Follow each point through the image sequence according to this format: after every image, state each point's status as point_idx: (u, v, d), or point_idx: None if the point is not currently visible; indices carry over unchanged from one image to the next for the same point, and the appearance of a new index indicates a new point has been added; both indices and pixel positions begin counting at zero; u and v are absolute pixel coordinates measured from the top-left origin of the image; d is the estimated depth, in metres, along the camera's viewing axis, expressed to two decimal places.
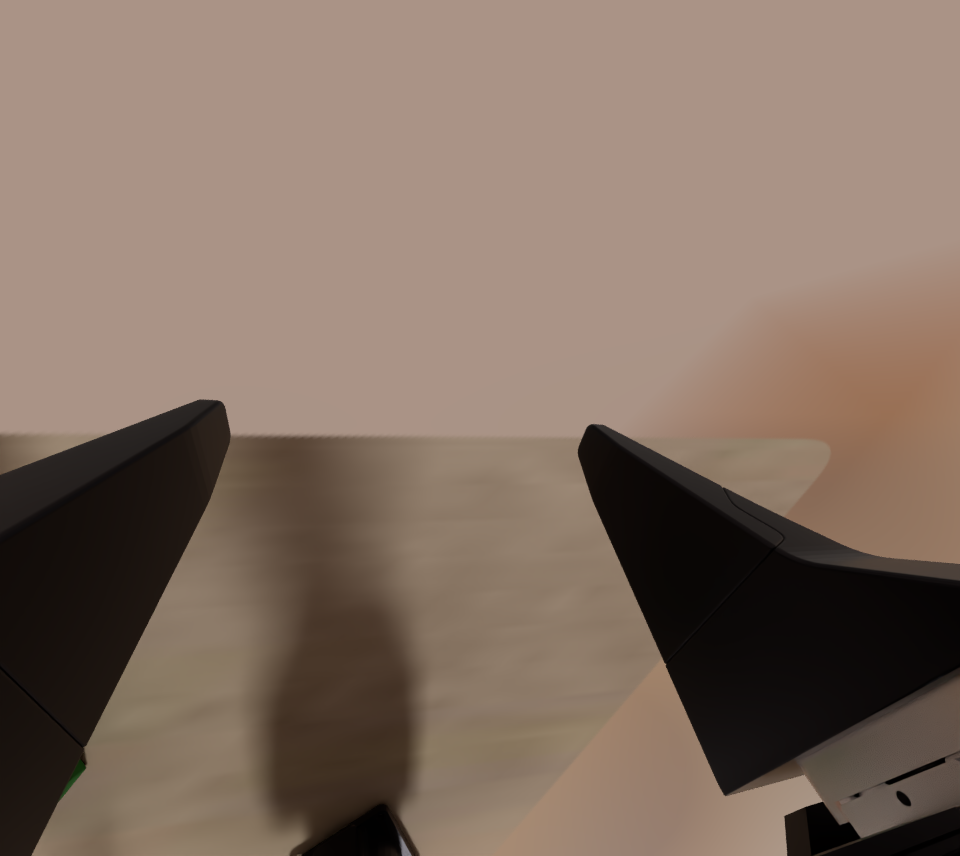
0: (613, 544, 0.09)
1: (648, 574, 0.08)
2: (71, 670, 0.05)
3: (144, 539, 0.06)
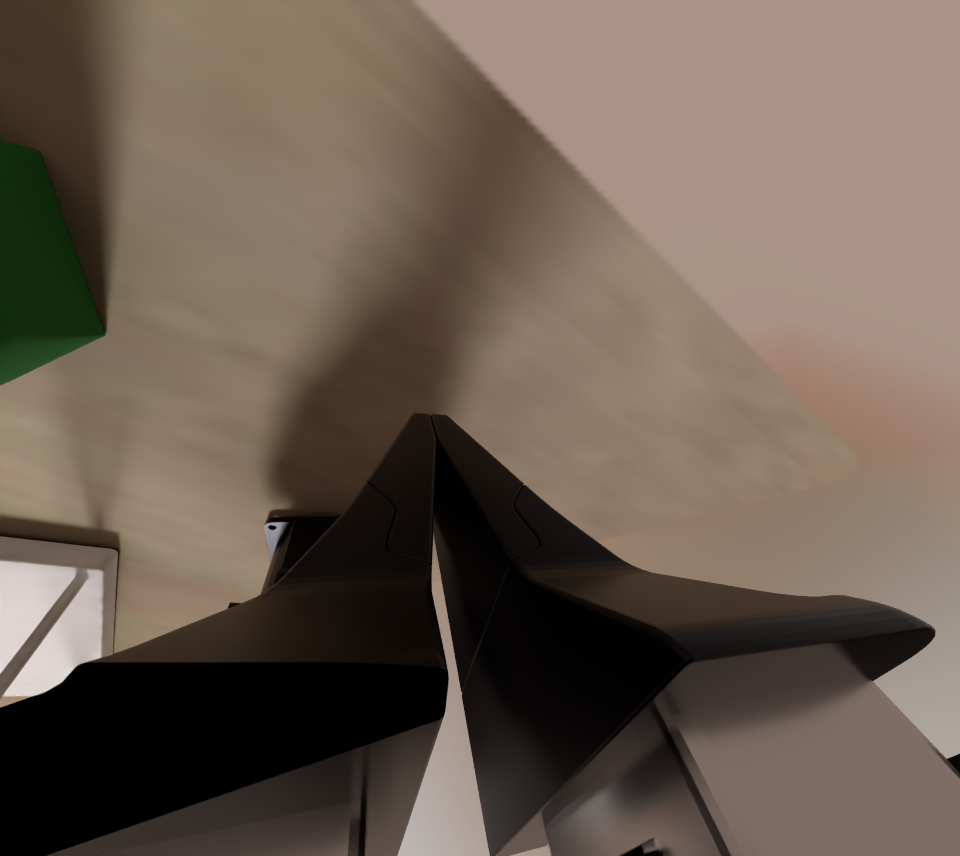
0: (437, 550, 0.08)
1: (452, 587, 0.07)
2: None
3: None
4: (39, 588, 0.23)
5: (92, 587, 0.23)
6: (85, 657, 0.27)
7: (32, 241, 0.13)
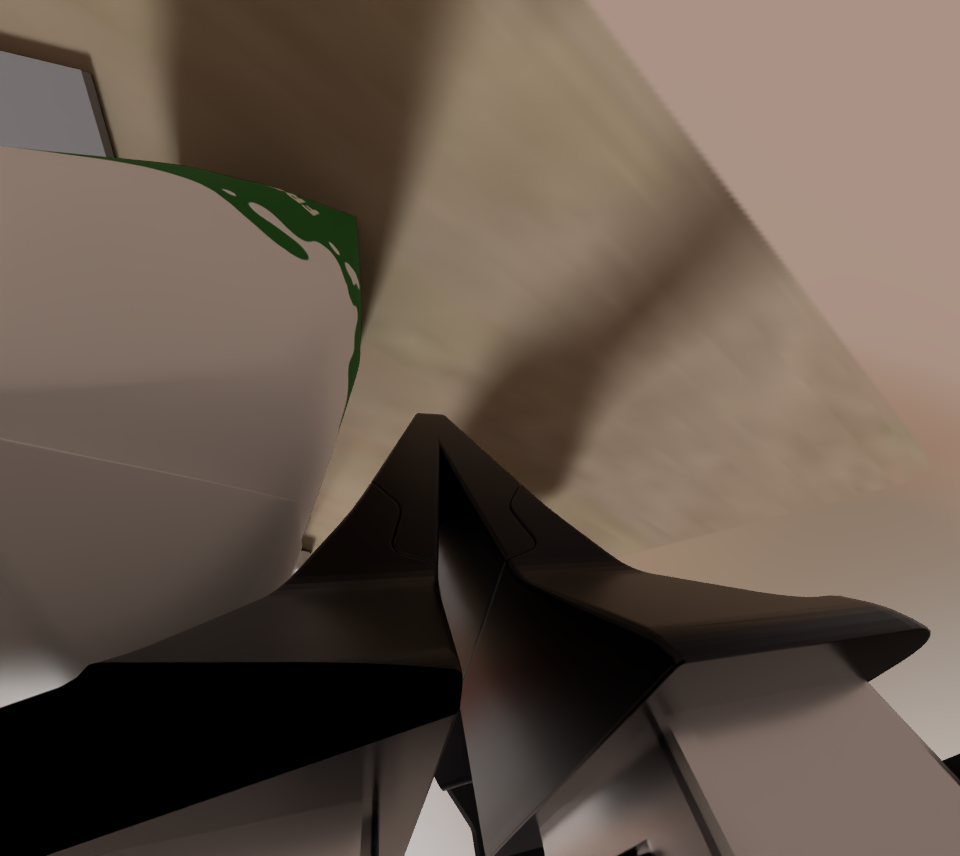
0: None
1: (448, 587, 0.07)
2: None
3: None
4: None
5: None
6: None
7: None
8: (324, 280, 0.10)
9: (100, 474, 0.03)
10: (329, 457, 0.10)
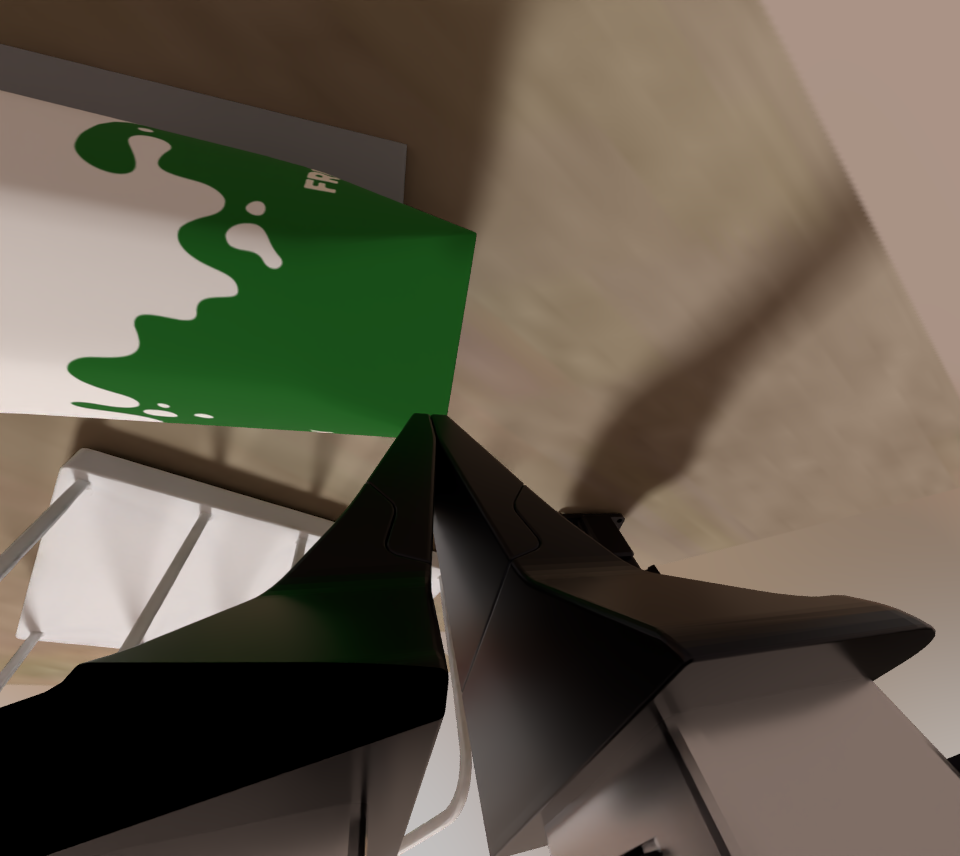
0: None
1: (452, 587, 0.07)
2: None
3: None
4: None
5: (440, 585, 0.31)
6: None
7: (380, 312, 0.11)
8: (100, 190, 0.08)
9: None
10: (3, 352, 0.09)
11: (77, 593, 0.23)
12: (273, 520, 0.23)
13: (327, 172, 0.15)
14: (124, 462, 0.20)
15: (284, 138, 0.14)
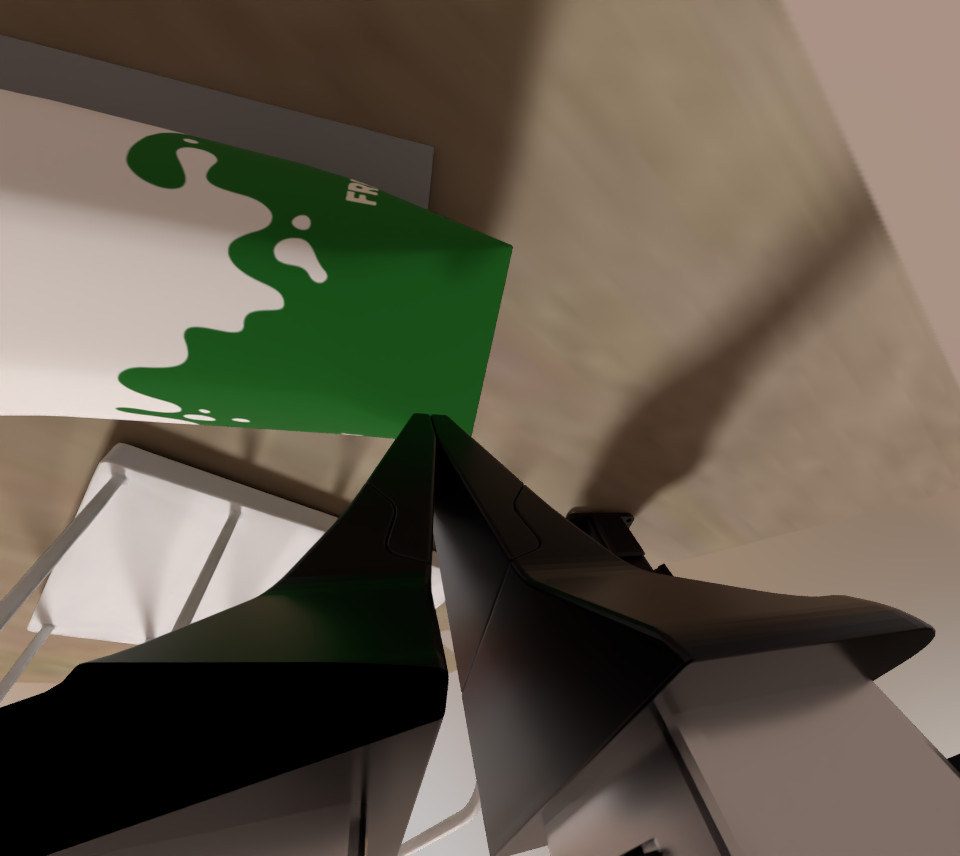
0: (437, 550, 0.08)
1: (452, 587, 0.07)
2: None
3: None
4: None
5: None
6: None
7: (417, 323, 0.11)
8: (154, 207, 0.09)
9: None
10: (58, 362, 0.09)
11: (96, 587, 0.23)
12: (300, 520, 0.24)
13: (355, 174, 0.15)
14: (159, 458, 0.21)
15: (313, 139, 0.14)
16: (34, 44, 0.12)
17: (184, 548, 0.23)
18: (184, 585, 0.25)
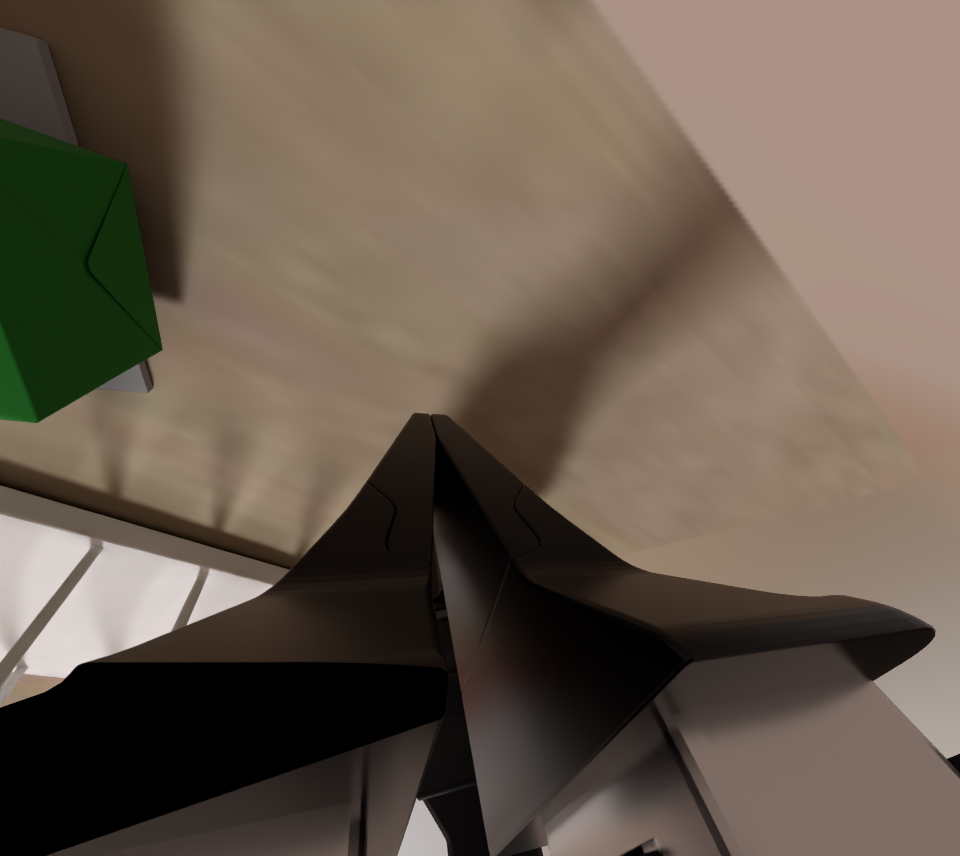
0: (437, 551, 0.08)
1: (452, 587, 0.07)
2: None
3: None
4: None
5: None
6: None
7: None
8: None
9: None
10: None
11: None
12: (55, 523, 0.20)
13: None
14: None
15: None
16: None
17: None
18: None
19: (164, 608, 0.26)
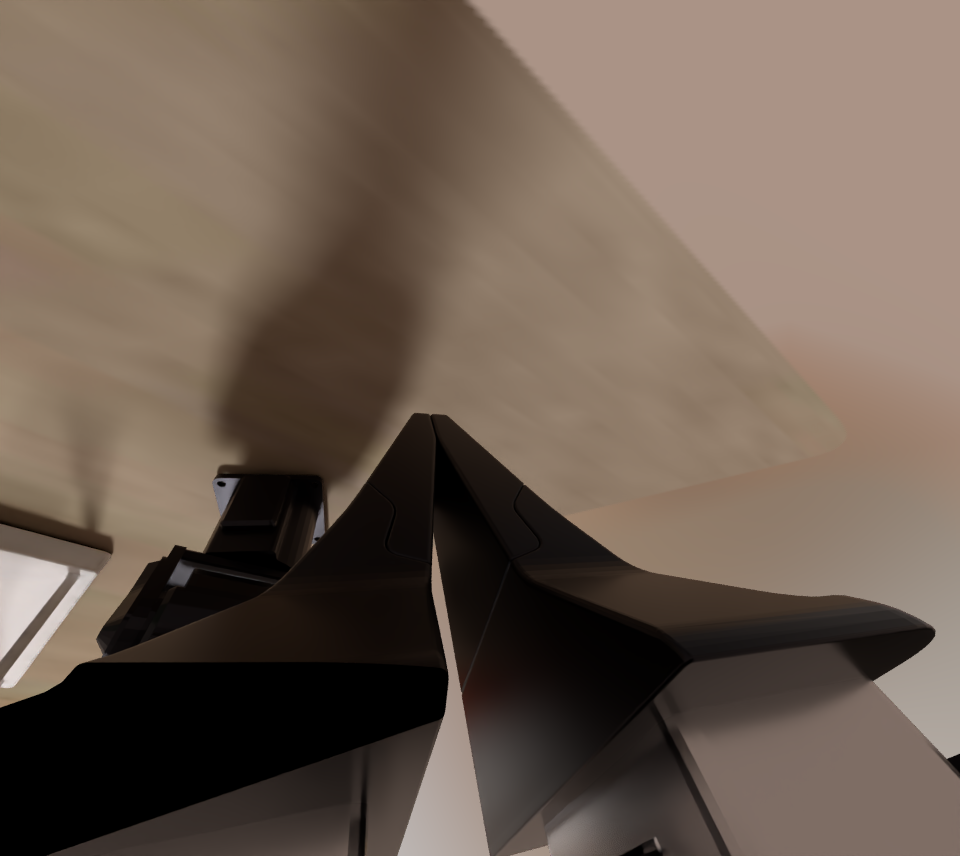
0: None
1: (452, 587, 0.07)
2: None
3: None
4: (24, 580, 0.23)
5: (77, 586, 0.24)
6: (23, 649, 0.27)
7: None
8: None
9: None
10: None
11: None
12: None
13: None
14: None
15: None
16: None
17: None
18: None
19: None
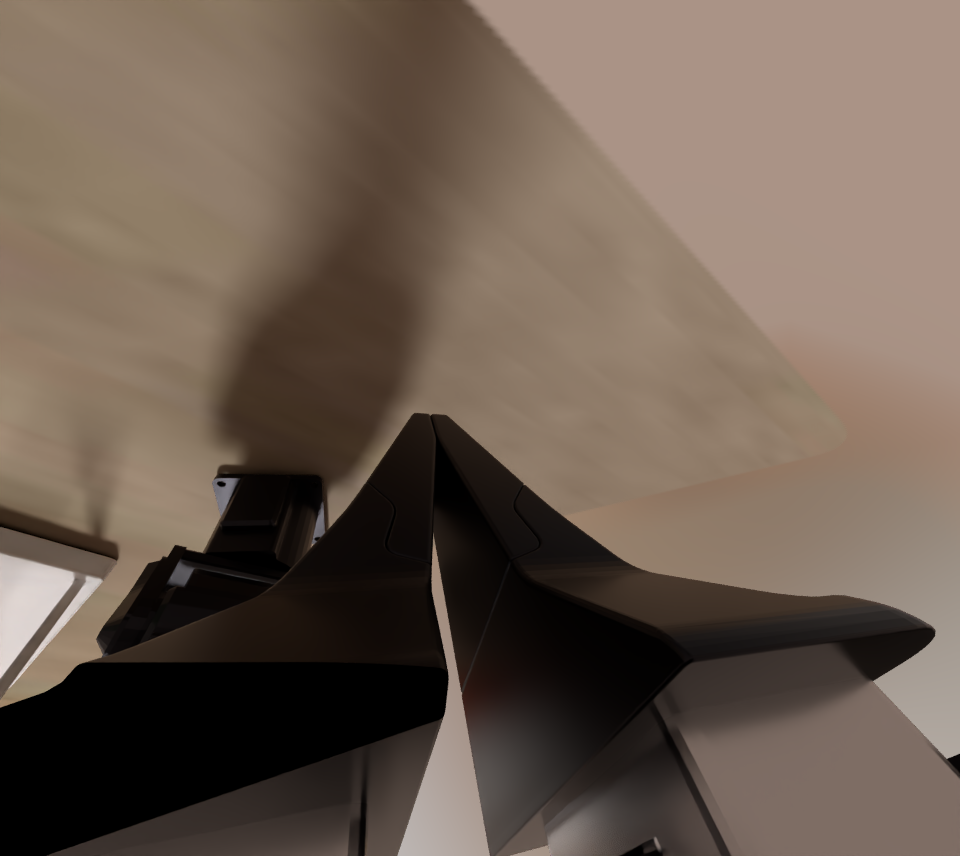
0: (437, 550, 0.08)
1: (452, 587, 0.07)
2: None
3: None
4: (30, 585, 0.24)
5: (82, 592, 0.25)
6: None
7: None
8: None
9: None
10: None
11: None
12: None
13: None
14: None
15: None
16: None
17: None
18: None
19: None
